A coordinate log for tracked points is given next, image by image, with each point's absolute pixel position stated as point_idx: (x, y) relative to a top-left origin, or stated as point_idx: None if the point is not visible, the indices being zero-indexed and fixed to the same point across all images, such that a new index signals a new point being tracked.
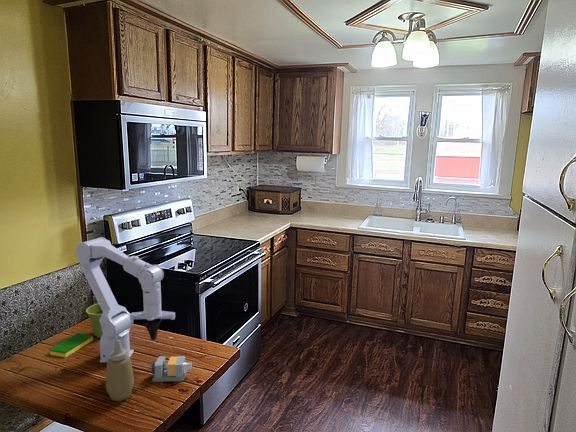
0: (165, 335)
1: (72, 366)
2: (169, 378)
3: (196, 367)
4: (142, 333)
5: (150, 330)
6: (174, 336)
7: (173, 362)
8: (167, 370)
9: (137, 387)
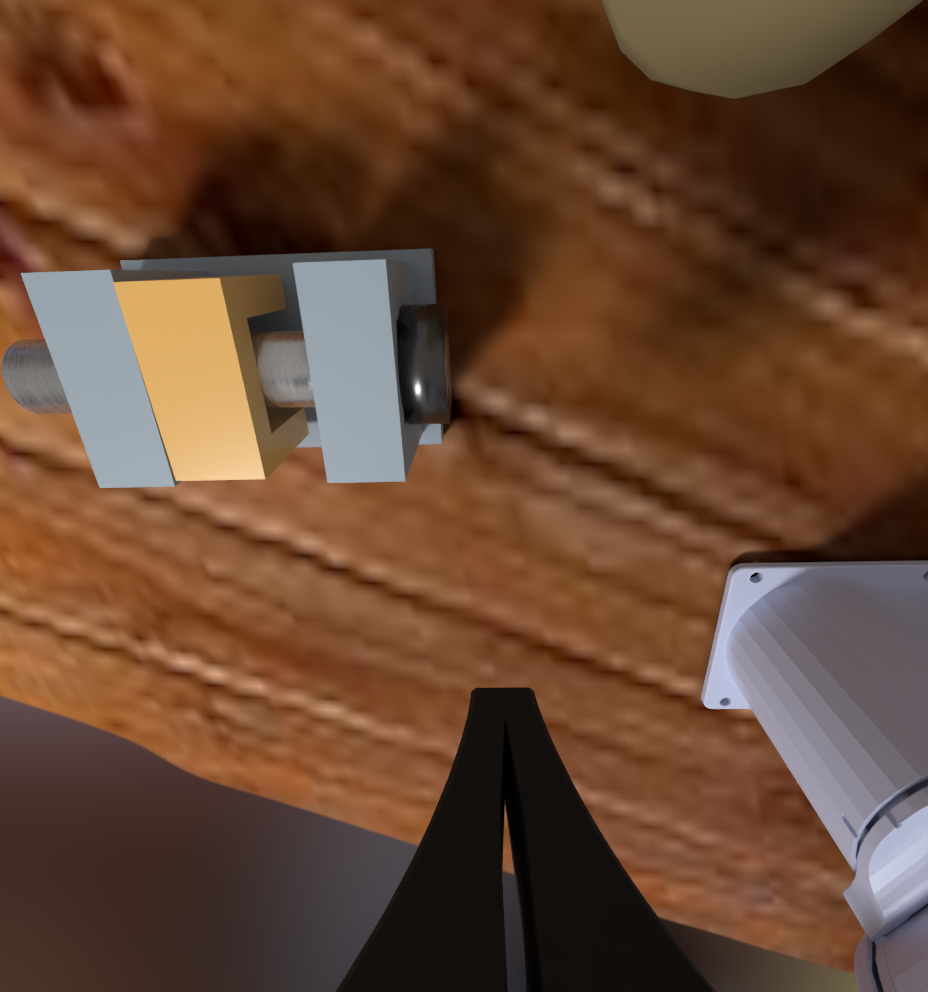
0: None
1: None
2: (261, 256)
3: None
4: (673, 869)
5: (551, 852)
6: None
7: (164, 337)
8: (253, 276)
9: (557, 140)
